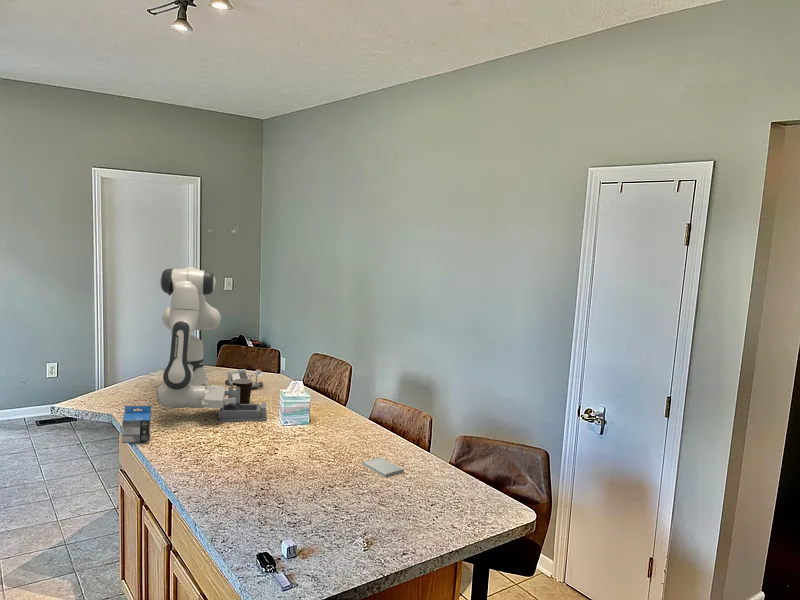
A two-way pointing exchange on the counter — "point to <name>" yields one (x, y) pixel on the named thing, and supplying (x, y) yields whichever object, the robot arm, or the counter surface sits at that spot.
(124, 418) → the label tape cartridge
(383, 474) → the hard drive
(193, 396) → the robot arm
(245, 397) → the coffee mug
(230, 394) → the cell
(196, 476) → the counter surface
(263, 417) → the cradle
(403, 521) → the counter surface
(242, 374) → the toy lunar rover
